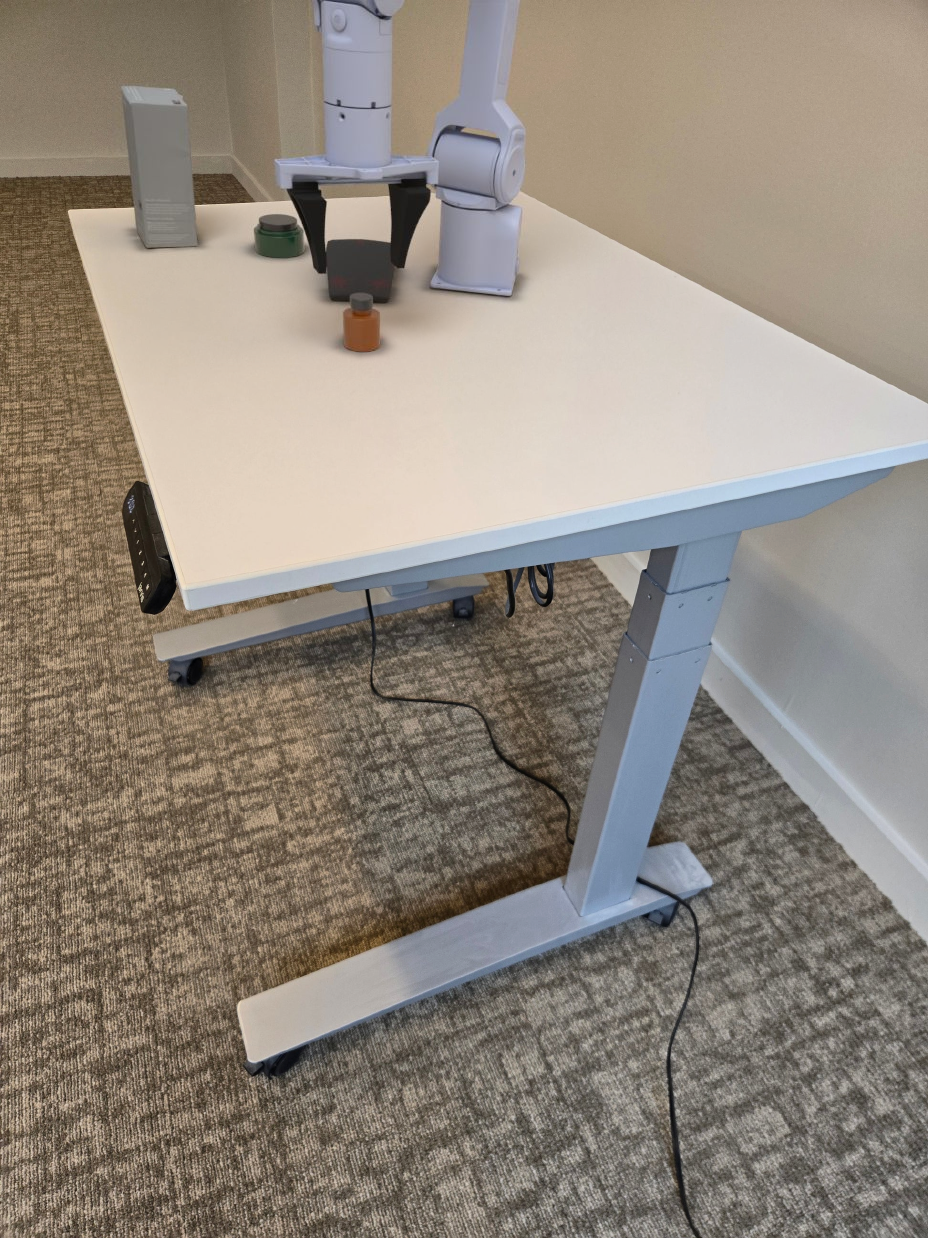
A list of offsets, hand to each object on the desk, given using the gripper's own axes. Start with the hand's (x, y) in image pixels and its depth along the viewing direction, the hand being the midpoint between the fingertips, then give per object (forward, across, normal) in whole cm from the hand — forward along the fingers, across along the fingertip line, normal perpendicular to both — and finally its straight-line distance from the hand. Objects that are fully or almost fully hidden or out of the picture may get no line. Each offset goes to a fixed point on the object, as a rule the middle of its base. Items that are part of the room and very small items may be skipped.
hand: (359, 267), depth 82 cm
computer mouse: (+8, +6, +17) cm, 20 cm away
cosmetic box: (+8, -13, +37) cm, 40 cm away
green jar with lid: (+7, -1, +30) cm, 31 cm away
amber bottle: (+7, 0, 0) cm, 7 cm away
